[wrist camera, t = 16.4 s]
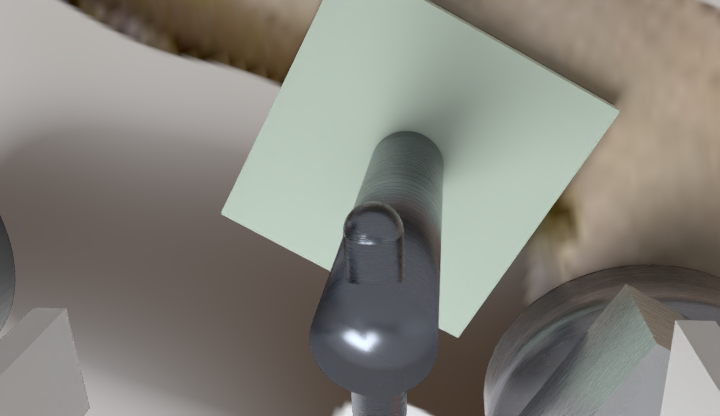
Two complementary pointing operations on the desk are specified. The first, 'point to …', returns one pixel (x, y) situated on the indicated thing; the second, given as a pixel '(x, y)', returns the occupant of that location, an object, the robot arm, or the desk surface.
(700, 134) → the desk surface
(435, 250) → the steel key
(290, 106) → the sage mat
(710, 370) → the robot arm
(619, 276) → the chuck block
